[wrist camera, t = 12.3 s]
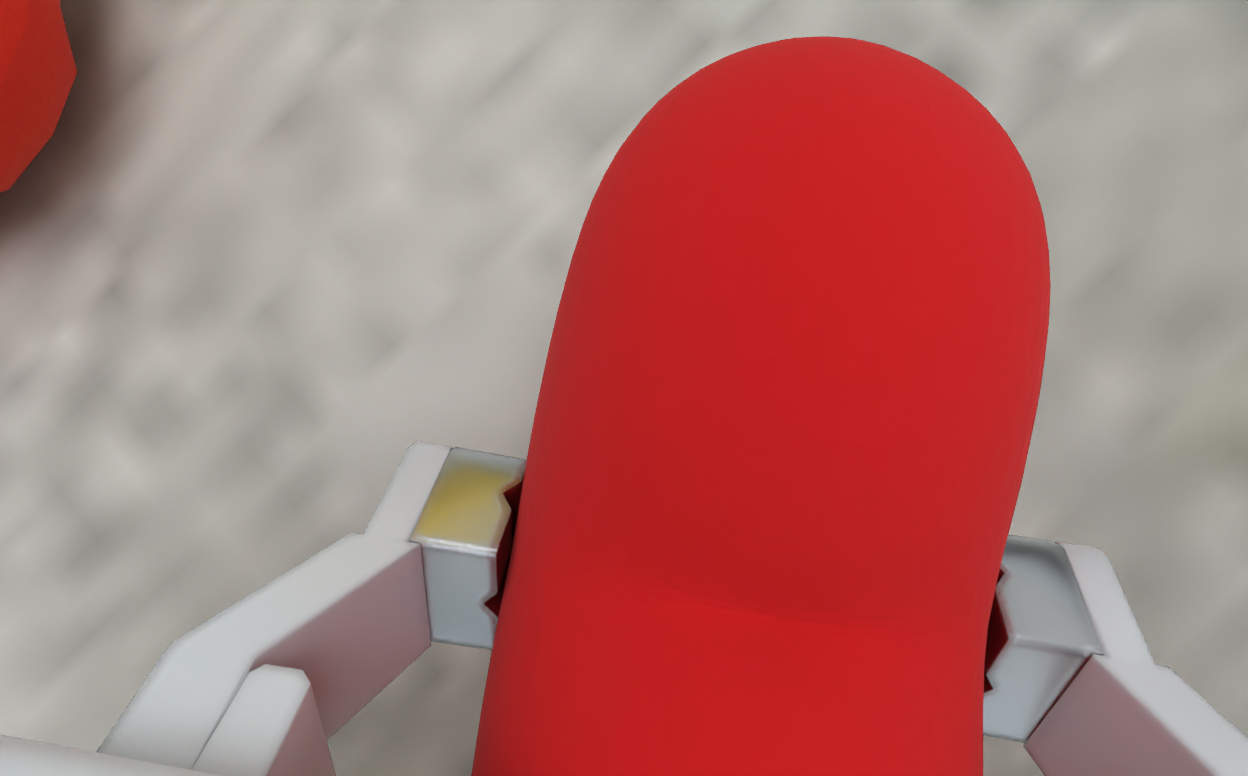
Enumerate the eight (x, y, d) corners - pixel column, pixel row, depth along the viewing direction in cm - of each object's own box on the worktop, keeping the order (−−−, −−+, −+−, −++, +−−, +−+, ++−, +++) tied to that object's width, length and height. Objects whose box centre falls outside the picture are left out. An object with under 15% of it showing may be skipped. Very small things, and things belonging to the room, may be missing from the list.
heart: (802, 894, 15) (1105, 1716, 5) (510, 837, 15) (239, 1503, 5) (885, 275, 16) (1254, -66, 6) (616, 233, 16) (561, -155, 7)
